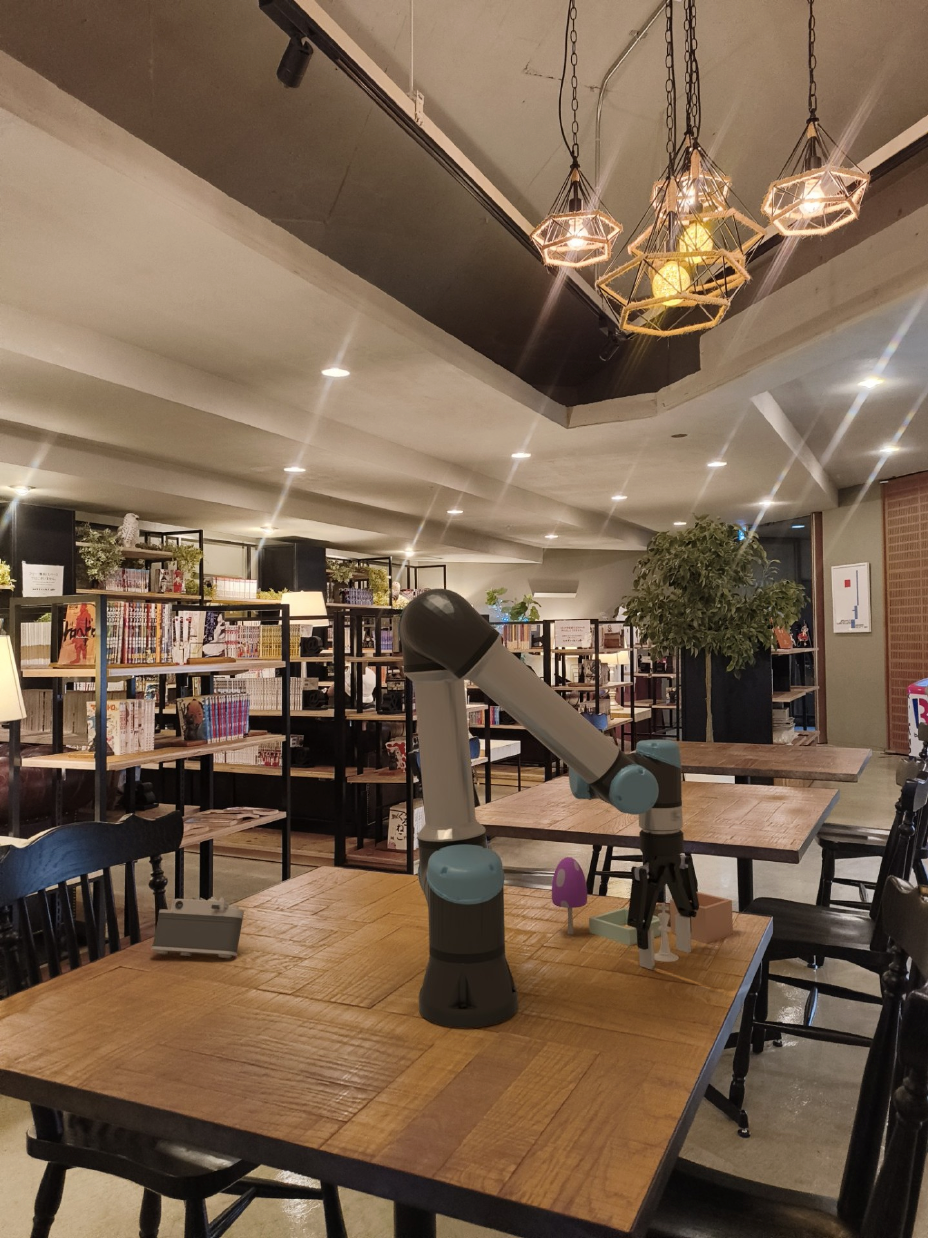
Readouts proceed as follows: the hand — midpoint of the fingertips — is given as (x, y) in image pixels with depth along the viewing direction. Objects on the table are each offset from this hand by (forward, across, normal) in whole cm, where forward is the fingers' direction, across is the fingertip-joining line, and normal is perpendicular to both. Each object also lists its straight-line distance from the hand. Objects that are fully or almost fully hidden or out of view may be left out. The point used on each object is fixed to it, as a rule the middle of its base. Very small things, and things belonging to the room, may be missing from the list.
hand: (665, 960), depth 151 cm
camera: (0, -59, +60) cm, 84 cm away
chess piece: (0, 0, 0) cm, 0 cm away
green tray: (0, +5, +13) cm, 14 cm away
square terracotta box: (0, +15, +4) cm, 15 cm away
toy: (0, -3, +20) cm, 20 cm away
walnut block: (0, +15, +12) cm, 19 cm away
